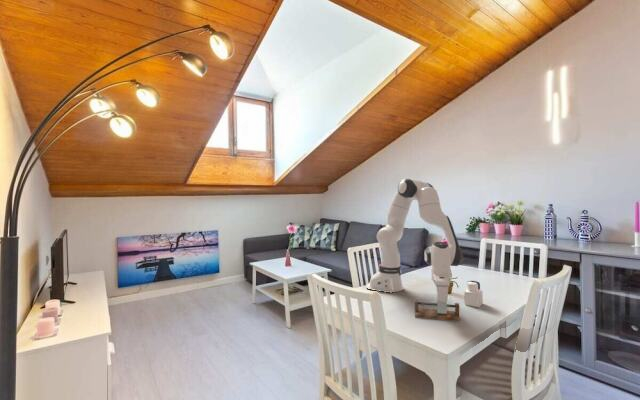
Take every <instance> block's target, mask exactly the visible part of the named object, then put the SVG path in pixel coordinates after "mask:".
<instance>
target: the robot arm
mask: <svg viewBox="0 0 640 400" xmlns="http://www.w3.org/2000/svg"><path fill="white" fill-rule="evenodd" d="M437 191H438V190H437V189H435V187H434V186H433V185H432V184H431V183H428V182H425V181H422V180H419V179H417V180H415V179H410V178H405V179H401V180H400V181H399V183H398V185H397V190H396V191H395V193H394V195H393V198H392V199H391V203H390V206H389V208H388V212H387V222H386V225H385V226H384V227H382V228H380V229H379V230H378V231H377V233H376V241H377V243H378V244H379V248H380V251H381V252H380V253H381V254H380V255H381V264H378V271H377V272H376V273H374V274H372V276H371V277H370V281H369V283H367V284H366V285H365V287H366V289H367V288H368V289H375V290H378V291H377V292H379V290H380V291H384V292H383V293H386V292H390V293H389V294H392V292H393V293H396V292H397V293H398V292H401V291H403V290H404V286H403V283H402V282H403V281H402V266H401V253H400V252H399V248H398V241H400V240H401V239H402V237H403V235H404V228H405V222H406V220H407V219H406V218H407V216H408V215H409V214H408V213H409V210H410V208H411V205H412V202H413V201H414V200H415V201H417V203H418V212H419V217H420V218H421V220H423V222H425V223H427V224H429V225H432V226H435V227H438V228H440V229H441V230H442V231H443V233H444V235H445V239H446V242H447V243H446V242H444V241H435V242H433V243H432V245H431V246H427V247H425V249H424V251H423V260H424V262H425V263H426V264H427V265H429V266H431V280H432V281H433V283H434V286H435V288H436V293H437V294H436V297H437V296H438V301H439V302H440V308H444V303H446V302H448V296H449V287H450V285H451V282H452V269H451V267H458V266H459V265H461V264H462V262H463V261H464V254H463V251H462V248H461V246H460V245H459V242H458V239H457V235H456V232H455V230H454V227H453V224H452V221H451V220H450V218H449V216H448V215H446V214H445V212H443V210H442V207H441V206H442V205H441V202H440V197H439V194H438V192H437Z"/></svg>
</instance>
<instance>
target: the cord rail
mask: <svg viewBox="0 0 640 400" xmlns="http://www.w3.org/2000/svg"><path fill="white" fill-rule="evenodd" d="M419 305H421V306H432V307H433V306H434V307H437V302H436V303H435V302H426V301H425V302H424V301H419V300H418V299H415V300H414V317H415V318H419V317H420V318H421V319H429V320H431V319H432V320H441V321H449V322H451V321H452V322H461V317H460V303H458V302H456V303H454V304H450V303H449V304H447V308H454V310H449V309H447V314H444V313H438V312H437V309H436V308H435V309H433V308H424V307H423V308H422V307H419Z"/></svg>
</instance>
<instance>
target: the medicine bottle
mask: <svg viewBox="0 0 640 400" xmlns="http://www.w3.org/2000/svg"><path fill="white" fill-rule="evenodd" d="M483 301H484V300H483V290H482V289H481V284H480V281H479V282H478V281H477V280H469V281H467V283H466V290H465V291H464V305H465V306H470V307H474V308H480V307H481V306H482V305H483Z"/></svg>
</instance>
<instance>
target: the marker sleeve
mask: <svg viewBox="0 0 640 400" xmlns="http://www.w3.org/2000/svg"><path fill="white" fill-rule="evenodd" d="M447 302H448V301H447ZM447 302H446V303H444V308H440V302H439V301H438V296H437V295H436V303H437V306H436V310H437V312H438V313H444V314H447V310H448V309H447V308H448V307H447Z"/></svg>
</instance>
